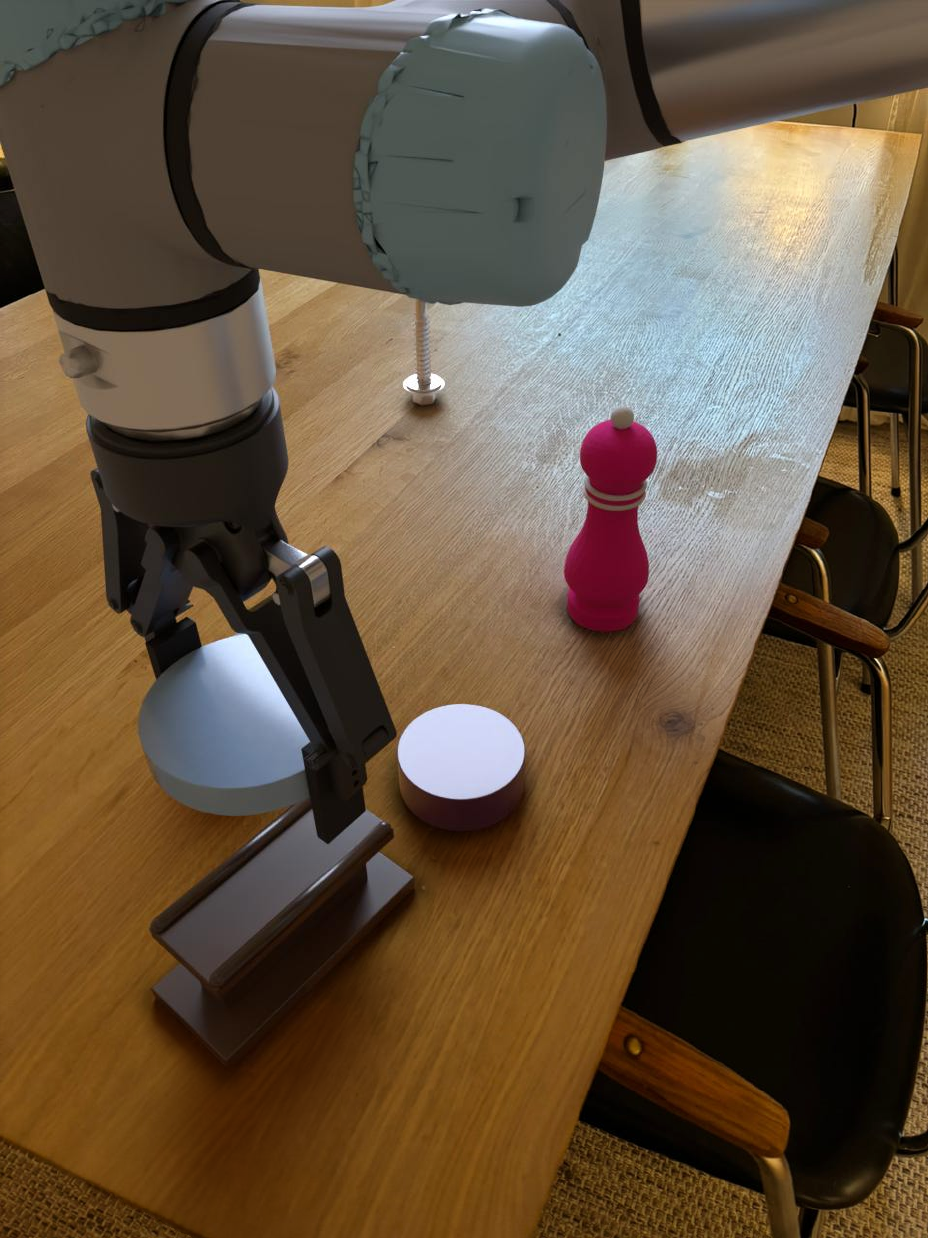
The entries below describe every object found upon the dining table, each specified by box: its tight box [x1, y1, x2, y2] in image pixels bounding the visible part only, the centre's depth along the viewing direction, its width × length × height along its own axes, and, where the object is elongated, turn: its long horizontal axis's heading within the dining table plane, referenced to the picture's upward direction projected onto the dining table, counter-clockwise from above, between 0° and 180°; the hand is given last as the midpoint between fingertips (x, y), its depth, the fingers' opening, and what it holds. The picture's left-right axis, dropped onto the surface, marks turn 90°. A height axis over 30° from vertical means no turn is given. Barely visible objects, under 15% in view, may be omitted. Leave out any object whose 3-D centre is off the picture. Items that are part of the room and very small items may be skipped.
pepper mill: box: [563, 405, 658, 633], centre depth 82 cm, size 7×7×20 cm
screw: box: [402, 299, 445, 406], centre depth 113 cm, size 13×5×5 cm
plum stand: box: [396, 703, 526, 832], centre depth 72 cm, size 9×9×4 cm
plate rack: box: [148, 797, 415, 1071], centre depth 61 cm, size 7×16×8 cm, turn 140°
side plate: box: [137, 634, 310, 817], centre depth 50 cm, size 11×11×2 cm
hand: (264, 769), depth 53 cm, fingers closed on side plate, 11 cm apart
